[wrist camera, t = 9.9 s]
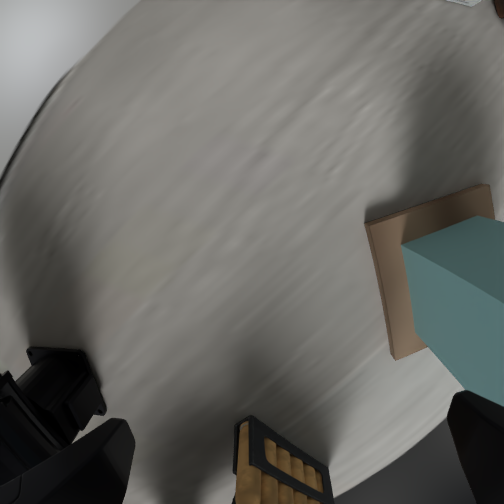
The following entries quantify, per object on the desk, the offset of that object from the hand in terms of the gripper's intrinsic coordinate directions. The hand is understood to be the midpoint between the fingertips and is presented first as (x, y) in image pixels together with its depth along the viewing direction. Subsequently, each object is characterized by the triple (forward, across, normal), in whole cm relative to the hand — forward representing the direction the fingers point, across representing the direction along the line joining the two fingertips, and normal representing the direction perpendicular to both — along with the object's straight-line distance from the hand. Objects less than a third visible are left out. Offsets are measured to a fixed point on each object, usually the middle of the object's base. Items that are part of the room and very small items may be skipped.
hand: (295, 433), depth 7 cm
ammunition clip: (+13, 0, +16) cm, 21 cm away
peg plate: (+13, -12, +1) cm, 18 cm away
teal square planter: (+12, -12, +1) cm, 17 cm away
